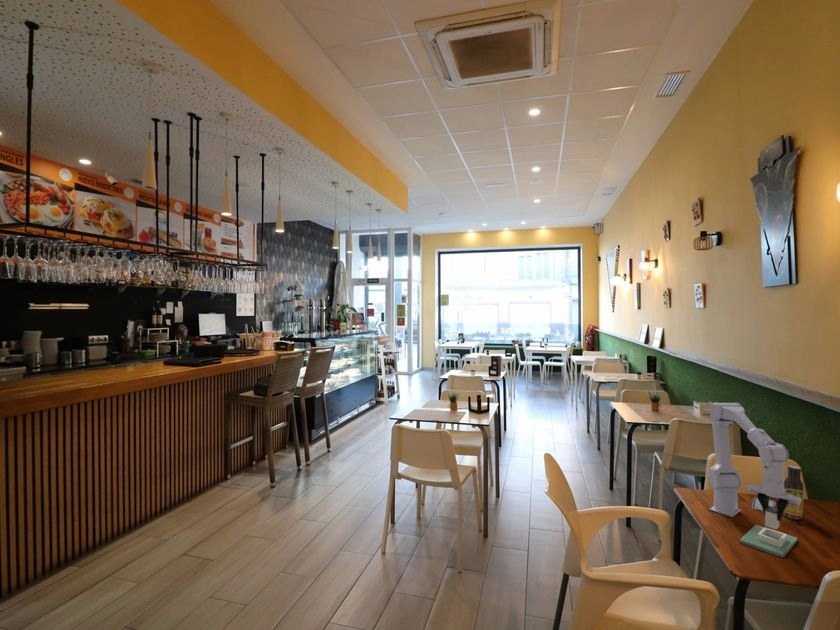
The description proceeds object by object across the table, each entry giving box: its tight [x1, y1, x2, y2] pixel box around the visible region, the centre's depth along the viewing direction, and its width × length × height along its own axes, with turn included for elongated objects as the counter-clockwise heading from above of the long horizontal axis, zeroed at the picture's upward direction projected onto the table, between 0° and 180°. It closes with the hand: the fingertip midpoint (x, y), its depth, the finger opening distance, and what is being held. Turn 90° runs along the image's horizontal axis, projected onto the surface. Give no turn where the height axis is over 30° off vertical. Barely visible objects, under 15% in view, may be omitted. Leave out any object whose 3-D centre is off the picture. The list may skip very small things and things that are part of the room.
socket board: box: [739, 524, 799, 559], centre depth 153 cm, size 18×12×3 cm, turn 128°
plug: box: [764, 506, 780, 530], centre depth 152 cm, size 4×3×6 cm
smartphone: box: [751, 496, 777, 512], centre depth 182 cm, size 7×1×15 cm
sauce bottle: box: [782, 464, 805, 521], centre depth 171 cm, size 7×6×20 cm
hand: (772, 518), depth 152 cm, fingers closed on plug, 3 cm apart
